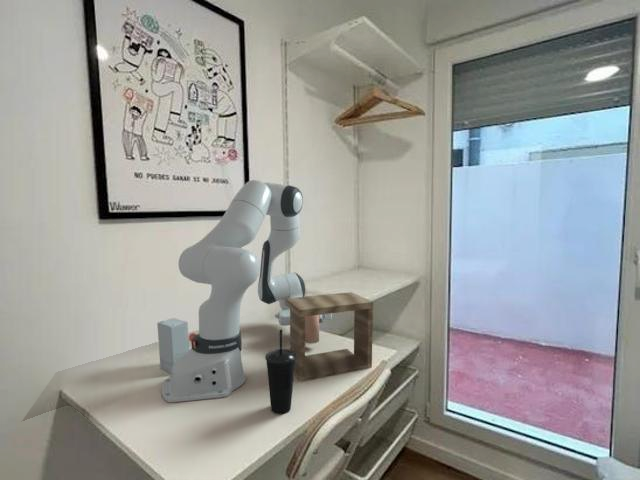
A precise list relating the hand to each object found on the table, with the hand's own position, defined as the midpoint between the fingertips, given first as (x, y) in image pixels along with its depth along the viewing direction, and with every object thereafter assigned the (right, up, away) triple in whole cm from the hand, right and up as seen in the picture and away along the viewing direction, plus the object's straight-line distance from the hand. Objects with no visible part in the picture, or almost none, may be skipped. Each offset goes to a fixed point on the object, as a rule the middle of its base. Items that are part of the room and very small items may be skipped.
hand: (312, 322), depth 122 cm
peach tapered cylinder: (0, -7, +2) cm, 7 cm away
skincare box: (-43, -11, -14) cm, 46 cm away
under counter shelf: (+5, -11, -11) cm, 17 cm away
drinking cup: (-7, -13, -36) cm, 39 cm away
